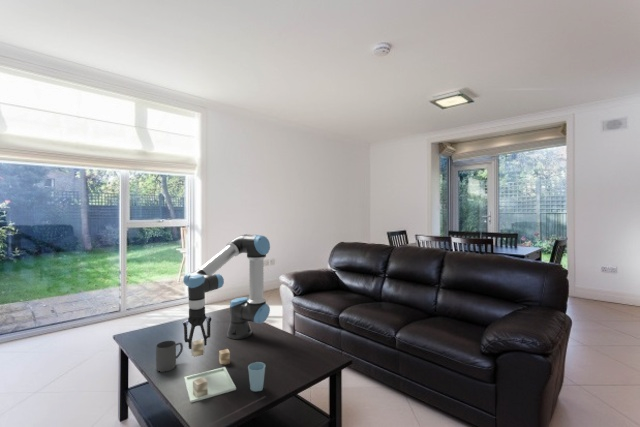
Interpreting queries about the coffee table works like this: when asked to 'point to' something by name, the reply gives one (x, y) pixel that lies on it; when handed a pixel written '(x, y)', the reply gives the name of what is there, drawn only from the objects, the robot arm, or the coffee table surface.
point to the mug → (167, 355)
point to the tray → (211, 383)
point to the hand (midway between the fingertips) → (197, 353)
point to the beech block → (197, 348)
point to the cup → (256, 375)
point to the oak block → (224, 356)
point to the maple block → (200, 387)
